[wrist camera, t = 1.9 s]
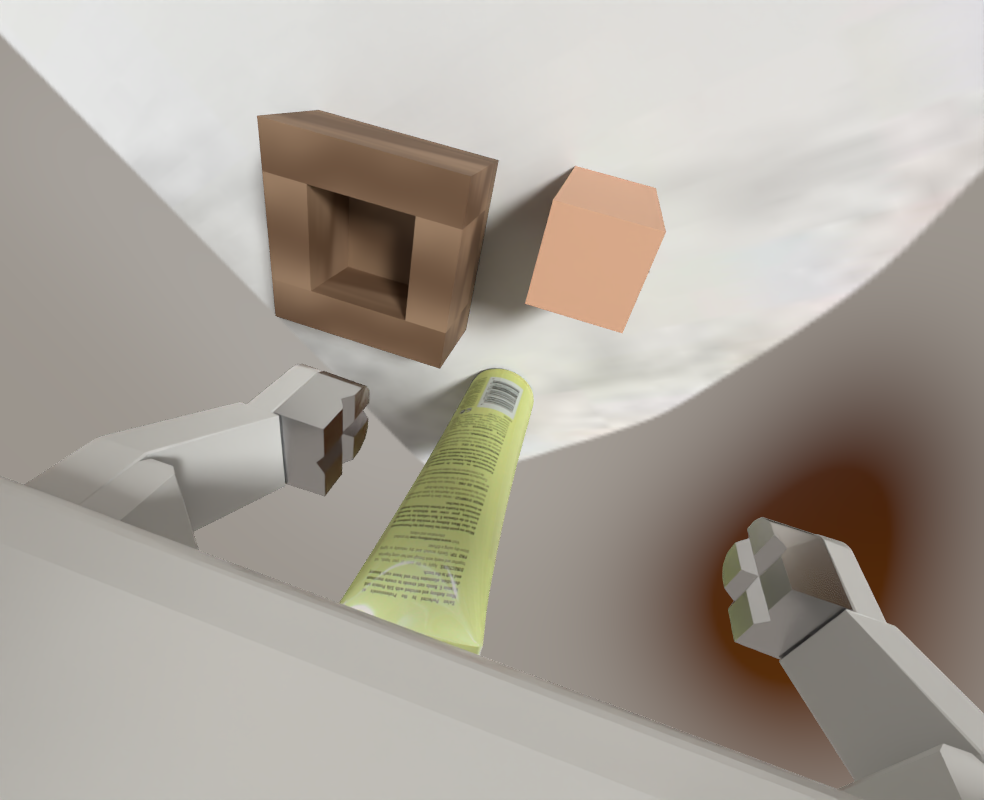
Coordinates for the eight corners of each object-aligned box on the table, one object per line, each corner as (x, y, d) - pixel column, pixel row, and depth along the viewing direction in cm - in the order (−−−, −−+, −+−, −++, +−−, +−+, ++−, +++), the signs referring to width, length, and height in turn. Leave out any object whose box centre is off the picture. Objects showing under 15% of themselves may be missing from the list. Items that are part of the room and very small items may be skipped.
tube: (502, 435, 37) (409, 691, 22) (453, 397, 36) (318, 636, 21) (549, 395, 34) (478, 663, 18) (496, 352, 33) (375, 596, 17)
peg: (575, 166, 25) (552, 199, 18) (655, 188, 25) (666, 231, 18) (552, 246, 28) (524, 303, 21) (624, 267, 27) (622, 333, 20)
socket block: (318, 110, 27) (257, 115, 22) (498, 160, 26) (471, 176, 21) (322, 285, 33) (275, 316, 29) (465, 329, 32) (439, 368, 28)
